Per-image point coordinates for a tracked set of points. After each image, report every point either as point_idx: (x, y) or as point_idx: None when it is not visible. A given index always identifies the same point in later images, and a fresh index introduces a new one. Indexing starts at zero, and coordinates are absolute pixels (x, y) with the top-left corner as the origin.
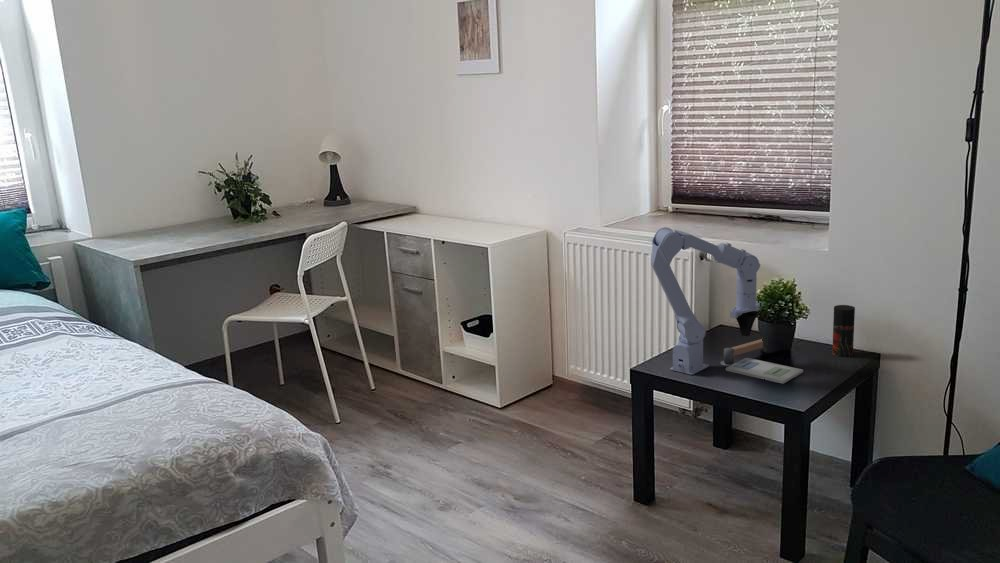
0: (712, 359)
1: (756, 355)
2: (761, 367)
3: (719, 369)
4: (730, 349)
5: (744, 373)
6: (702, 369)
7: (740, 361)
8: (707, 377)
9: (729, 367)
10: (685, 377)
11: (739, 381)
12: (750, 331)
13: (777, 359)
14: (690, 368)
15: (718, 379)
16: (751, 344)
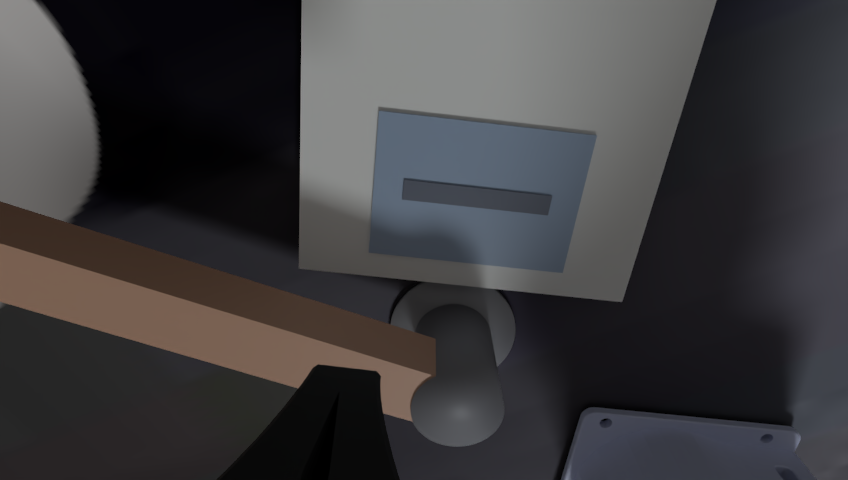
0: (423, 439)
1: (152, 234)
2: (480, 50)
3: (604, 334)
4: (452, 400)
5: (670, 132)
6: (674, 416)
7: (416, 269)
8: (805, 336)
9: (596, 284)
10: (840, 440)
11: (842, 100)
12: (310, 399)
13: (118, 35)
14: (799, 473)
15: (831, 259)
16: (188, 306)
